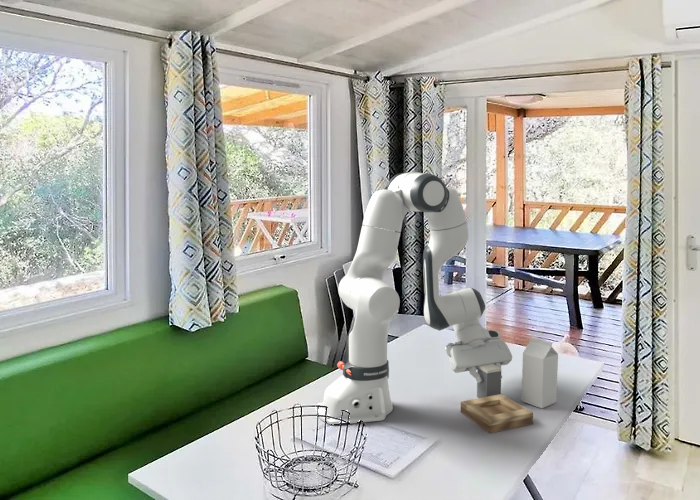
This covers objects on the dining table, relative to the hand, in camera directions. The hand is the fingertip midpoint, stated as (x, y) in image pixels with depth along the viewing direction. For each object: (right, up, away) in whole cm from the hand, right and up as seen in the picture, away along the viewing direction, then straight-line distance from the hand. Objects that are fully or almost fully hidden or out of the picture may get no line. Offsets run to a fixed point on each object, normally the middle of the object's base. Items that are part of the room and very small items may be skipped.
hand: (490, 380), depth 171 cm
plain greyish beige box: (0, -6, +1) cm, 6 cm away
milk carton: (+14, -6, -2) cm, 15 cm away
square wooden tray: (-1, -8, -12) cm, 14 cm away
